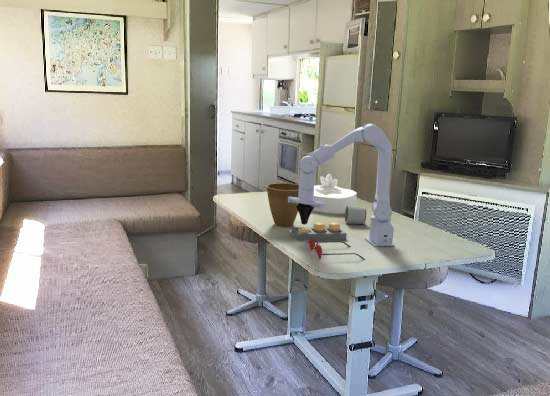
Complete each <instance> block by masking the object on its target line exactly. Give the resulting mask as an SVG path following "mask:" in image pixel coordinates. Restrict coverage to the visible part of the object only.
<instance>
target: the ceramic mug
mask: <svg viewBox="0 0 550 396" xmlns="http://www.w3.org/2000/svg"><path fill="white" fill-rule="evenodd" d="M366 221H367V209H366V208H365V207H363V206H358V205H356V206H349V205H347V207H346V210H345V213H344V223H345V224H346V225H347V224H349V225H350V224H352V225H363V224H366Z"/></svg>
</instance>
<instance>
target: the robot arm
mask: <svg viewBox="0 0 550 396" xmlns="http://www.w3.org/2000/svg"><path fill="white" fill-rule="evenodd" d="M363 139H364V140H363ZM364 141H366V142H367V143H368V144H371V145H372V146H374V148H376V150H377V168H376V185H375V186H376V187H375V195H374V201H373V202H372V204H371V211H372V212H373V214H372V215H371V216H370V225H369V235H368V236H367V237H365V238H364V239H365V240H366V241H367V242H369V243H370V244H371V245H372V246H374V247H391V246H392V247H393V246H395V243H394V242H393V239H394V231H395V229H394V227H393V225H392V223H391V219H392V218H391V217H392V214H393V210H392V207H391V200H390V199H391V198H390V189H391V188H390V185H391V172H392V171H391V169H392V154H393V153H392V152H393V145H392V143H391V142H390V140H389V139H388V137H387V135H386V134H385V131H384V130H383V129H381V128H380V127H378V126H377V125H376V124H374V123H370V122H369V123H365V124H364V125H363V126H360V127H357V128H355V129H354V130H352V131H350V132H349V133H348V134H346V135H344V136H342V137H341V138H340V139H338V140H336V141H335V142H334V143H332V144H320V145H319V148H317V149H315V150H314V151H312V152H311V151H310V152H309V153H308V155H305V156H303V157H302V158H301V159H300V162H299V168H300V170H299V174H300V175H299V179H298V185H299V194H298V197H288V202H289V203H291V202H292V203H297V204H298V206H296V208H297V210H298V214H299V218H300V223H301V225H307V224H308V222H309V219H310V216H311V214H312V212H313V209H314V207H317V208H320V209H322V208H324V203H322V202H319V201H316V200H314V186H315V180H316V177H315V170H316V168H317V167H321V166H323V165H324V164H326V163H327V162H330V160H332V159H334V158H335V154H337V152H339V151H340V150H342V149H345V148H346V147H348V146H349V145H352V144H353V143H364Z"/></svg>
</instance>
